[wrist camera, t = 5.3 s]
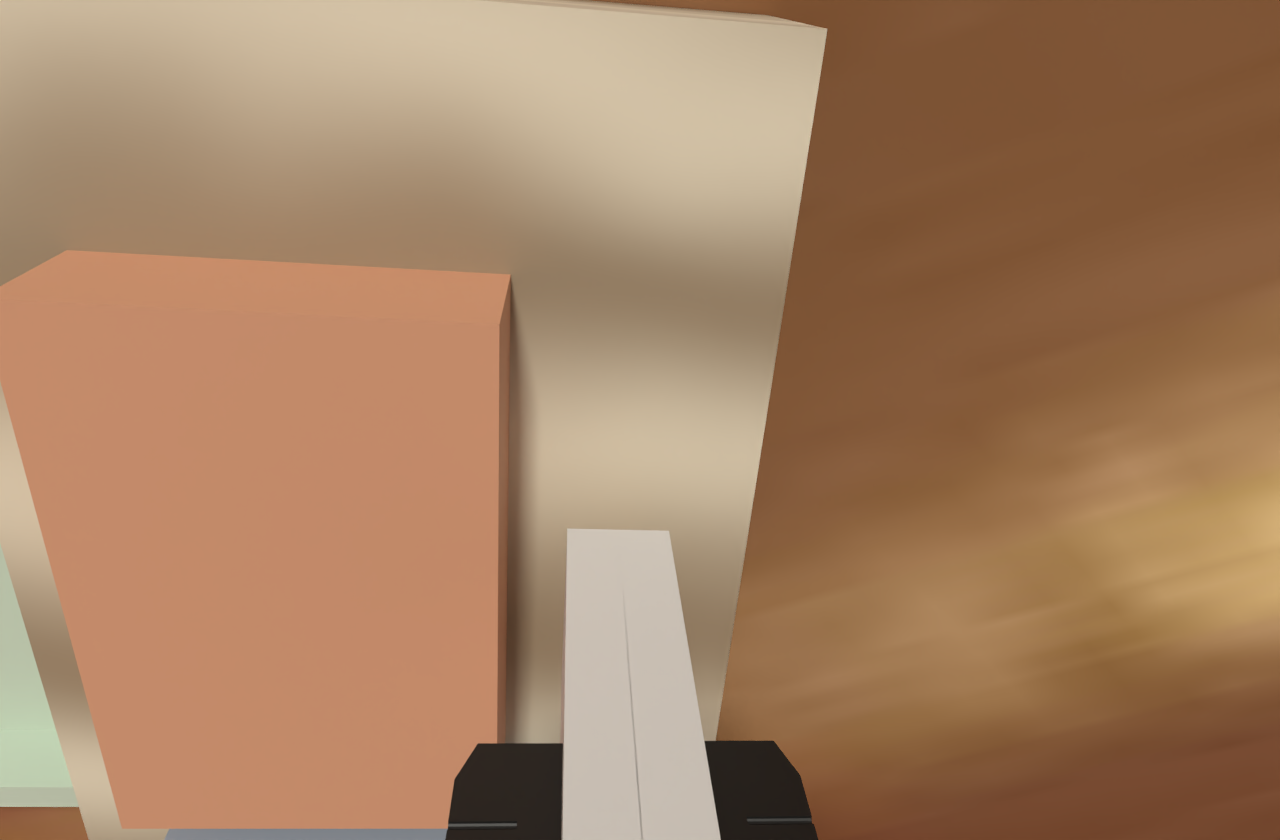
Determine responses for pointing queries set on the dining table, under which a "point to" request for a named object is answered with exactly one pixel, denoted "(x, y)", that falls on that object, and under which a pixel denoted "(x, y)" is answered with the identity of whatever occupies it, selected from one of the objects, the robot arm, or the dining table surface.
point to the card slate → (306, 834)
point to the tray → (26, 718)
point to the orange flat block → (271, 527)
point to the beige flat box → (451, 248)
